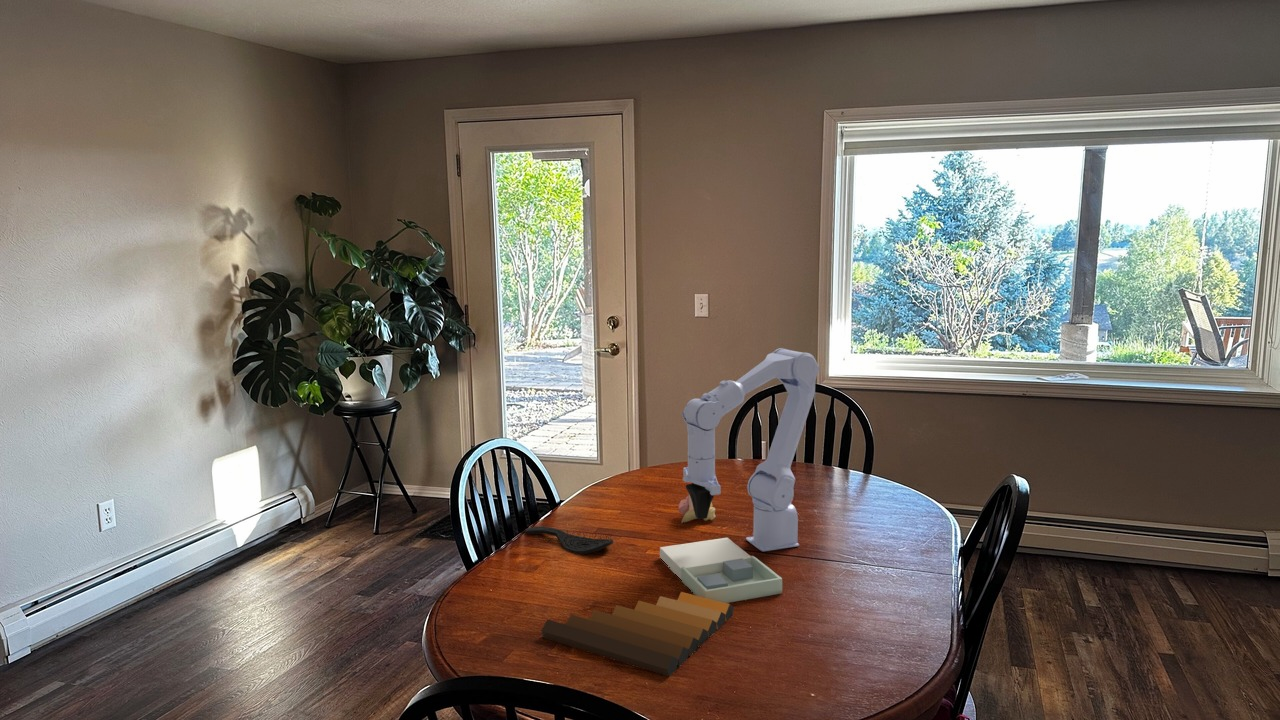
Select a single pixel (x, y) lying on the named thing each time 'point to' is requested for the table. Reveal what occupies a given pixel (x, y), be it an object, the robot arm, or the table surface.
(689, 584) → the box
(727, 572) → the squat square grey block
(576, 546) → the hairbrush
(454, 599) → the table surface
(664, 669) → the pan flute
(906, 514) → the table surface
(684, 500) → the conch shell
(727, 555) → the board
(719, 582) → the tile outer
